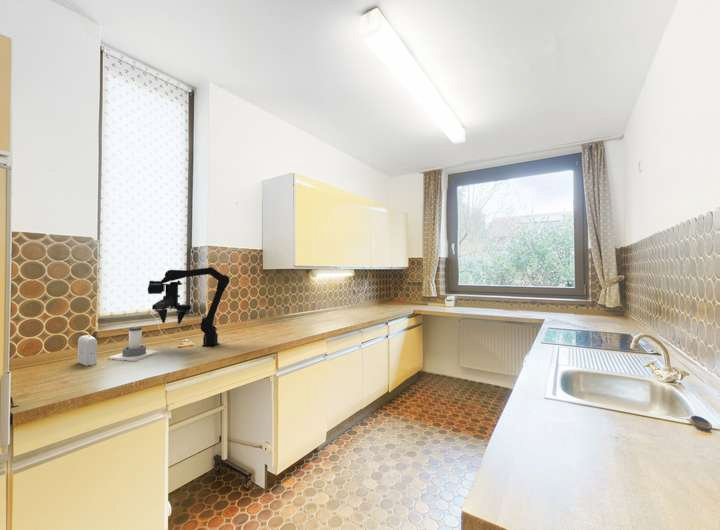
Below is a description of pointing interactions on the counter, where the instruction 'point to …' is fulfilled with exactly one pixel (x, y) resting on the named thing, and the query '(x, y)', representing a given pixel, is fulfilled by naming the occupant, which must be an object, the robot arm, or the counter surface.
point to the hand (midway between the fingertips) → (171, 323)
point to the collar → (133, 354)
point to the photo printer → (87, 350)
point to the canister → (135, 337)
